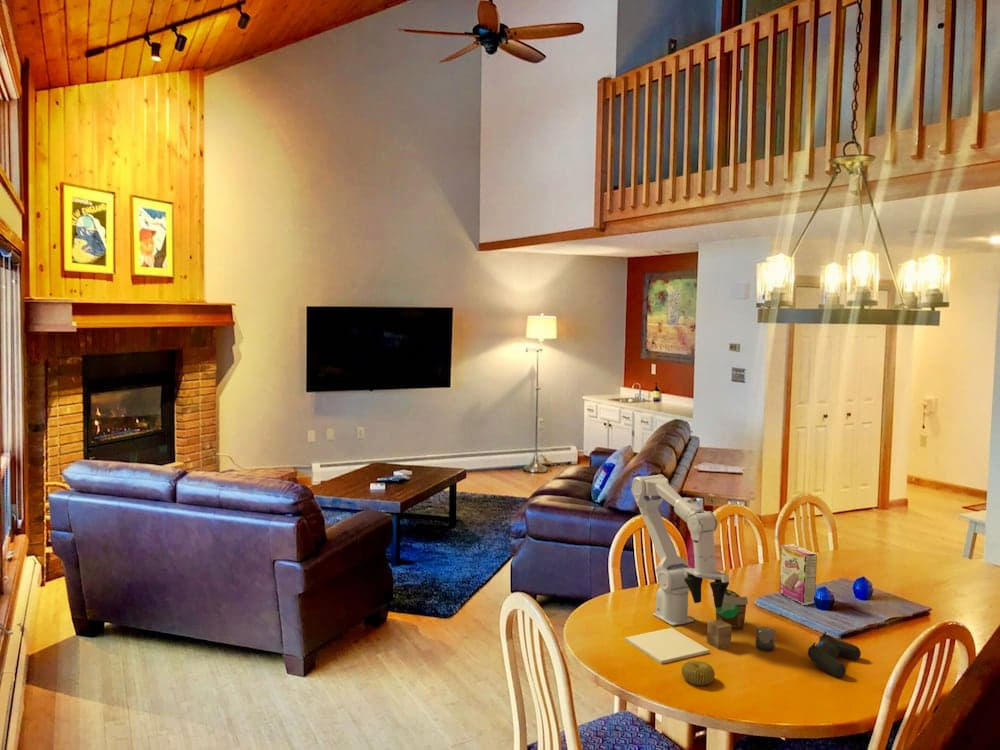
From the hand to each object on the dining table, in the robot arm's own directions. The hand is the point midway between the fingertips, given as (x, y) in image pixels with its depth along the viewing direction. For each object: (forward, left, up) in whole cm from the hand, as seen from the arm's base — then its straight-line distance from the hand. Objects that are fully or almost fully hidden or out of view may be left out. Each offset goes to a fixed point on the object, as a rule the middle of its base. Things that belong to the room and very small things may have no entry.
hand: (708, 604), depth 221 cm
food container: (-5, +11, -10) cm, 16 cm away
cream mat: (0, -14, -10) cm, 17 cm away
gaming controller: (+26, +19, -10) cm, 34 cm away
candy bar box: (-11, +46, -10) cm, 48 cm away
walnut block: (+5, 0, -10) cm, 11 cm away
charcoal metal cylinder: (+12, +10, -10) cm, 18 cm away
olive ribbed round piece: (+19, -19, -10) cm, 29 cm away
